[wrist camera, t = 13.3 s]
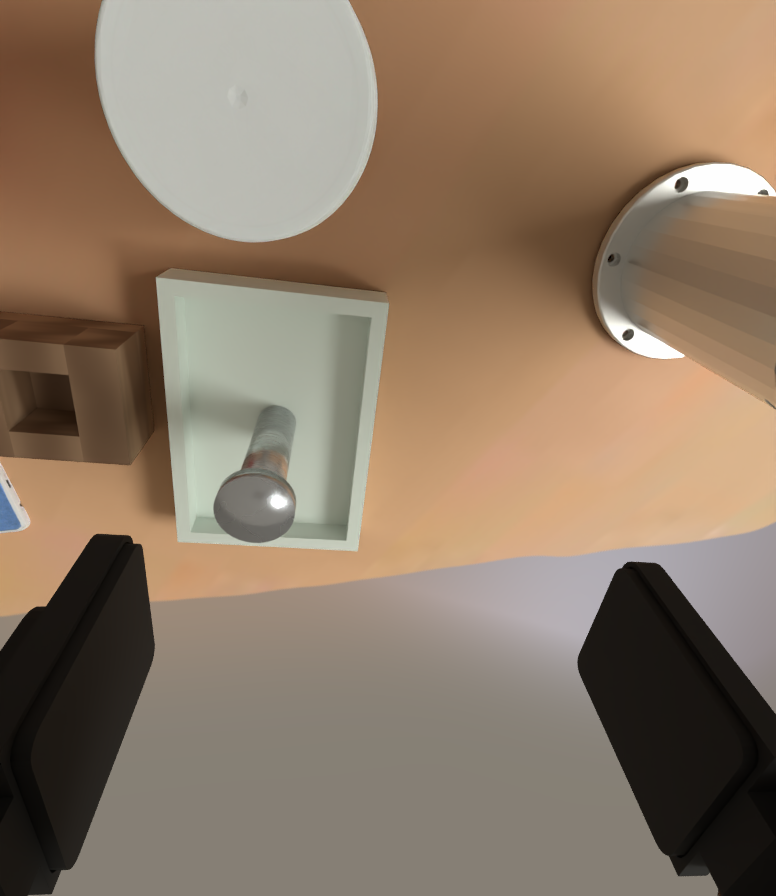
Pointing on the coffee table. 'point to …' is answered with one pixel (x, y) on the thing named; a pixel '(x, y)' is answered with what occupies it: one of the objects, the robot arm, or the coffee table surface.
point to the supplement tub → (239, 108)
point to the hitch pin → (261, 483)
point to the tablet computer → (10, 507)
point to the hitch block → (73, 389)
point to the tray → (271, 395)
